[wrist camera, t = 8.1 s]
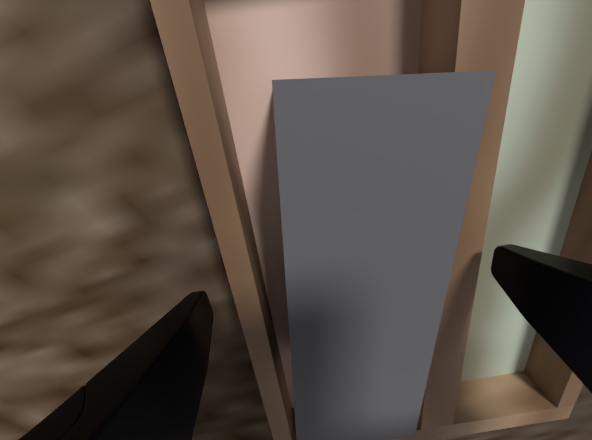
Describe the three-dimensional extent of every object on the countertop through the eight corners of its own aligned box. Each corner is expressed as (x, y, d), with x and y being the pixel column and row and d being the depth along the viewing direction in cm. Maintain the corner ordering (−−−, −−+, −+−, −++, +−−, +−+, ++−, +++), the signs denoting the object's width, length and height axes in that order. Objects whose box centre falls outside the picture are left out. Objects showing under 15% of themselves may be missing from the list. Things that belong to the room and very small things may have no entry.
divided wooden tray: (697, -184, 7) (896, -317, 5) (525, 371, 16) (568, 418, 13) (150, -112, 7) (89, -215, 5) (279, 410, 16) (280, 464, 13)
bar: (375, 342, 13) (414, 436, 9) (290, 349, 13) (297, 449, 9) (401, 82, 9) (496, 70, 5) (272, 87, 8) (272, 79, 5)
